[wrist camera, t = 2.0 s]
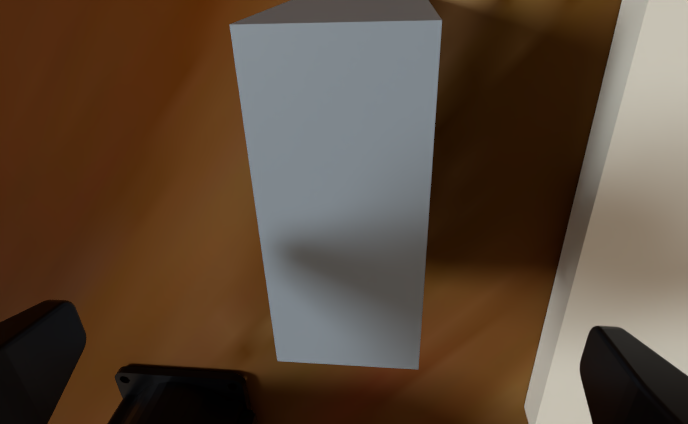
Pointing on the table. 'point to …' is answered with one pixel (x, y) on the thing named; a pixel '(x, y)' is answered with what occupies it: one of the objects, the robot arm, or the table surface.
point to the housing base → (624, 214)
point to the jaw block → (342, 171)
